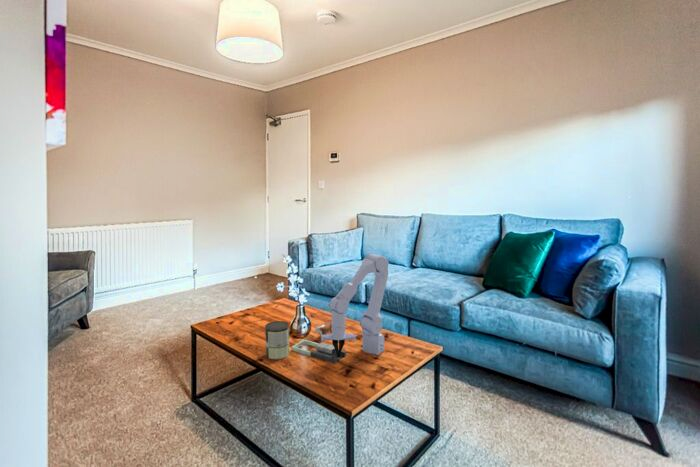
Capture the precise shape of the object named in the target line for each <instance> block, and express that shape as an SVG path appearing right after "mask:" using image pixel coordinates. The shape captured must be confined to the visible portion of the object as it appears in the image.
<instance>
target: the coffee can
mask: <svg viewBox="0 0 700 467" xmlns="http://www.w3.org/2000/svg"><path fill="white" fill-rule="evenodd" d="M264 330H265V357H266V358H268V359H270V360H283V359H286V358H287V357H289V356H290V323H288V322H287V321H285V320H283V321H281V320H274V321H271V322H268V323H266V324H265V325H264Z"/></svg>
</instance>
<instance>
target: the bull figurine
mask: <svg viewBox="0 0 700 467" xmlns="http://www.w3.org/2000/svg"><path fill="white" fill-rule="evenodd" d="M313 332H314V333H315V334H319V336H320V338H321V335H326V334H328V333H329V332H330V333H329V334H332V321H330V320H328V321H326V322H324V323H323V324H321V325H316V326H315V329H314V330H313Z"/></svg>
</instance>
